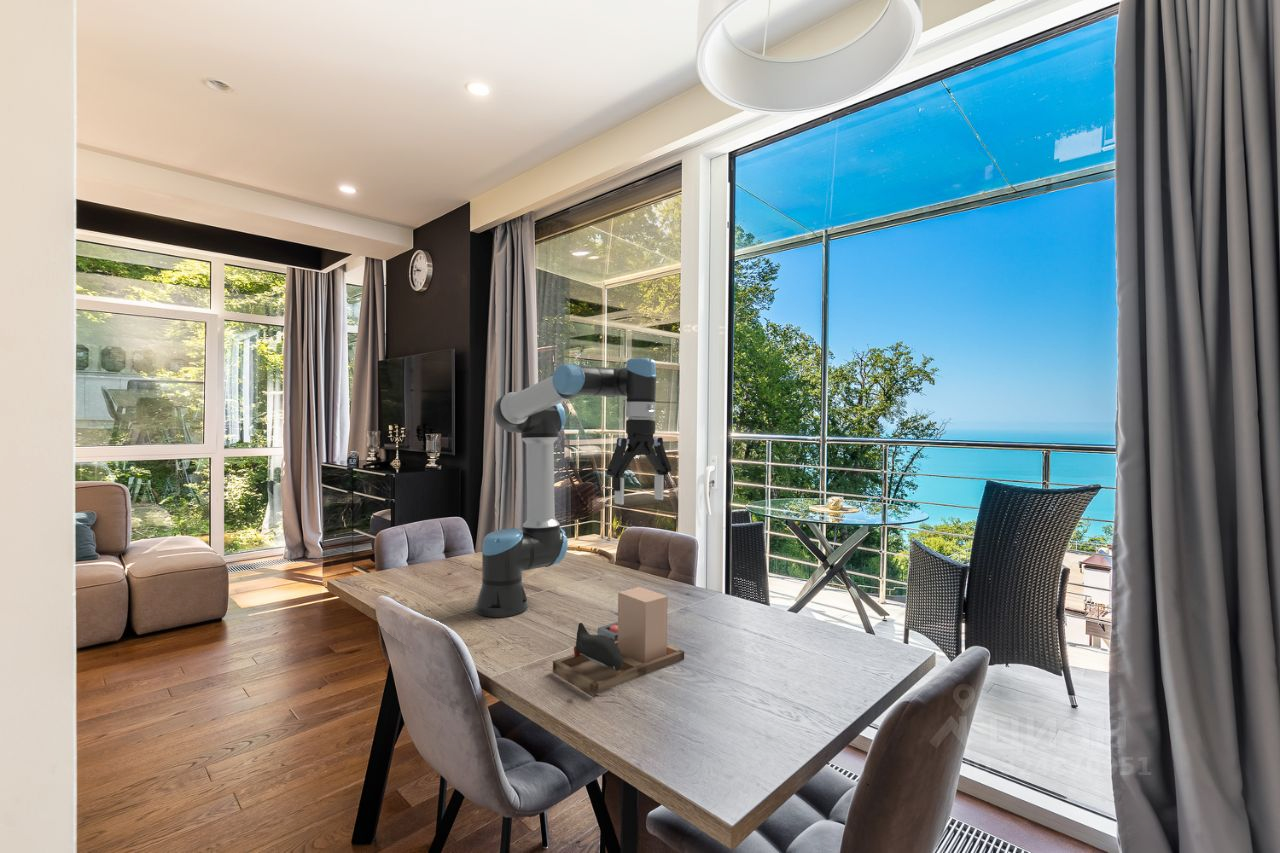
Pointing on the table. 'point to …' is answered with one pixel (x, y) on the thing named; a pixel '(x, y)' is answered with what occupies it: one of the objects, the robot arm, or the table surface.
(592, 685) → the wooden divided tray
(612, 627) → the stop button
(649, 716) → the table surface
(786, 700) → the table surface
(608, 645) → the figurine
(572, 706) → the table surface
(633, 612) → the tan block
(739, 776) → the table surface
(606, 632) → the button collar
